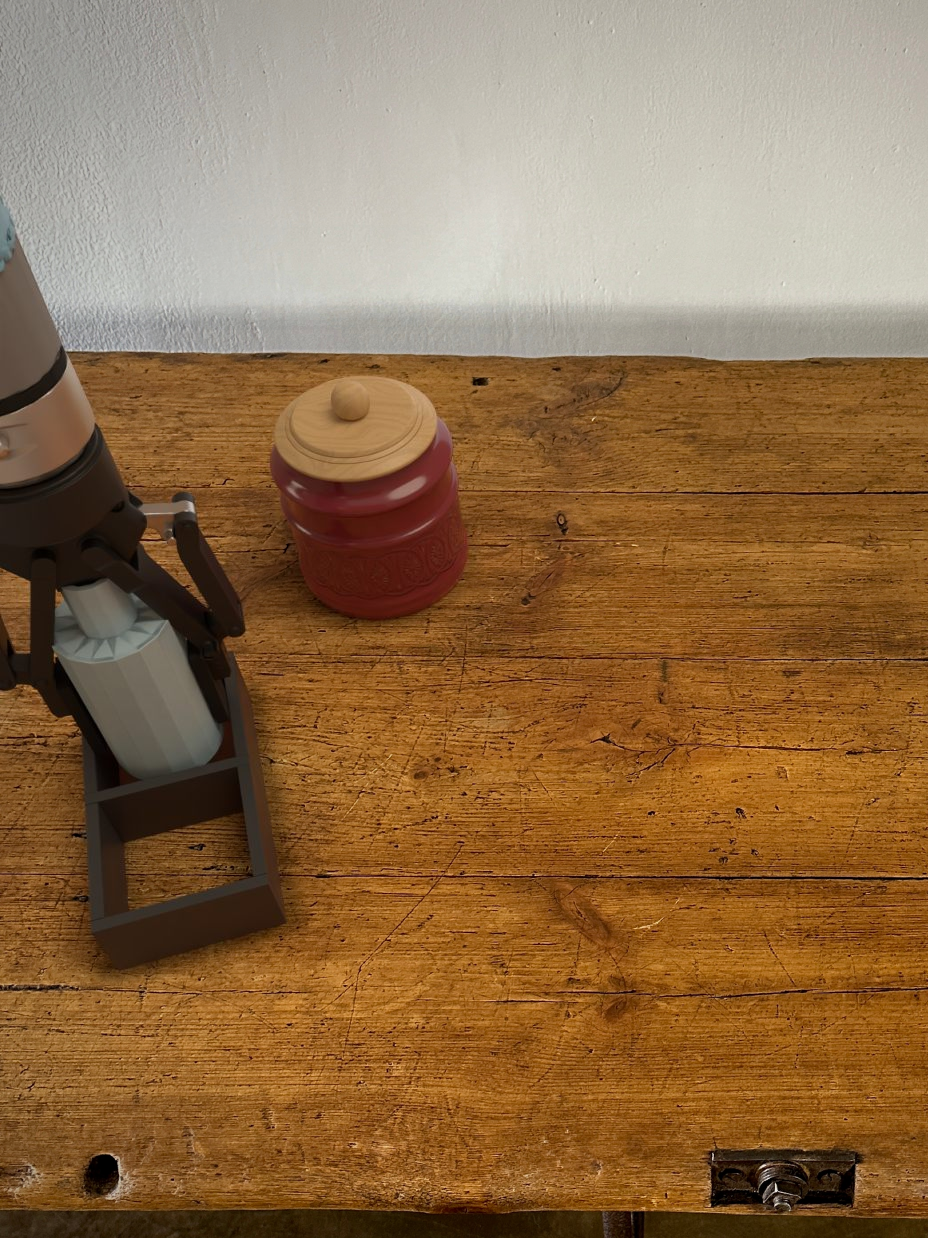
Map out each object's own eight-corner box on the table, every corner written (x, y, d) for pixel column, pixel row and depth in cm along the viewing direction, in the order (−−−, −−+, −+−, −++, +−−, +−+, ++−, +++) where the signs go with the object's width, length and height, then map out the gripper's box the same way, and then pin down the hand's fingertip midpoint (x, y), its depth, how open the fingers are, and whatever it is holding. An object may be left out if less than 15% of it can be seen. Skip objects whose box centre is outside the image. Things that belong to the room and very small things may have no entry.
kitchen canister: (272, 600, 93) (209, 418, 80) (358, 495, 101) (314, 312, 87) (422, 647, 91) (384, 467, 77) (498, 535, 98) (475, 353, 85)
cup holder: (107, 735, 85) (78, 685, 81) (252, 700, 87) (232, 649, 83) (123, 976, 73) (90, 933, 69) (289, 928, 76) (268, 883, 71)
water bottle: (97, 771, 78) (-5, 603, 66) (148, 691, 83) (61, 520, 70) (194, 791, 77) (110, 624, 65) (241, 709, 82) (169, 538, 69)
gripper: (-205, 537, 56) (-3, 808, 74) (231, 451, 61) (324, 726, 78) (-190, 438, 61) (-2, 716, 78) (216, 365, 65) (307, 643, 83)
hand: (161, 721), depth 78 cm, fingers closed on water bottle, 7 cm apart
